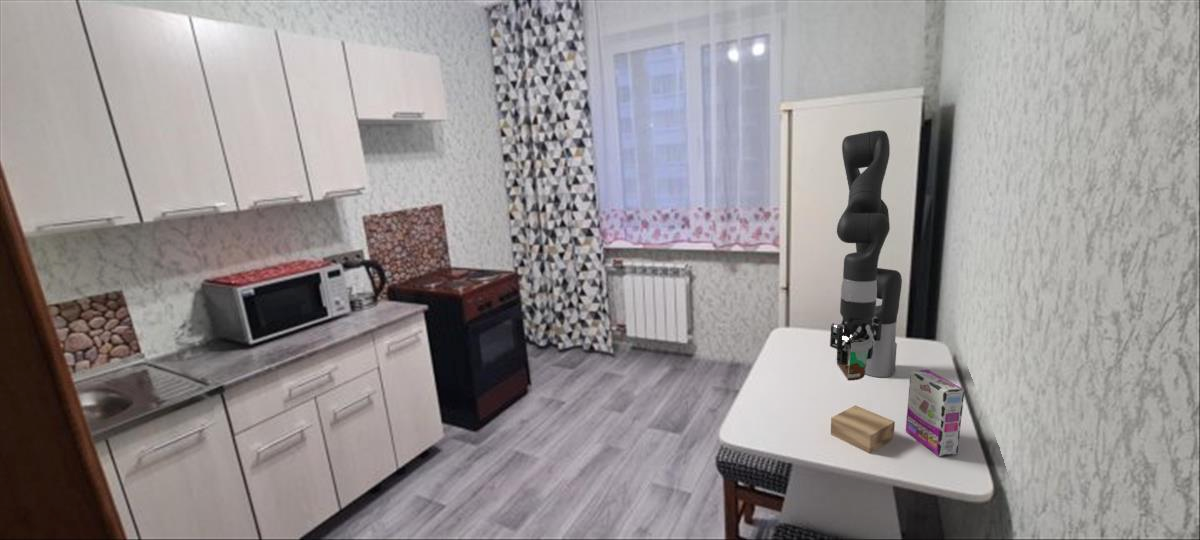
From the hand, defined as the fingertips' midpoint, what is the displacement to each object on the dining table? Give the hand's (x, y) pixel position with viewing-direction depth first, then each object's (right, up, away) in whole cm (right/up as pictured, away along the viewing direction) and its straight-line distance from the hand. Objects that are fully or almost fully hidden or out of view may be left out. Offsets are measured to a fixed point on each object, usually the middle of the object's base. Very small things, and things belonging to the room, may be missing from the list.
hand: (854, 360), depth 119 cm
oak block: (+2, -19, +1) cm, 19 cm away
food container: (+1, -3, +1) cm, 4 cm away
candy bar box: (+16, -19, -3) cm, 25 cm away
